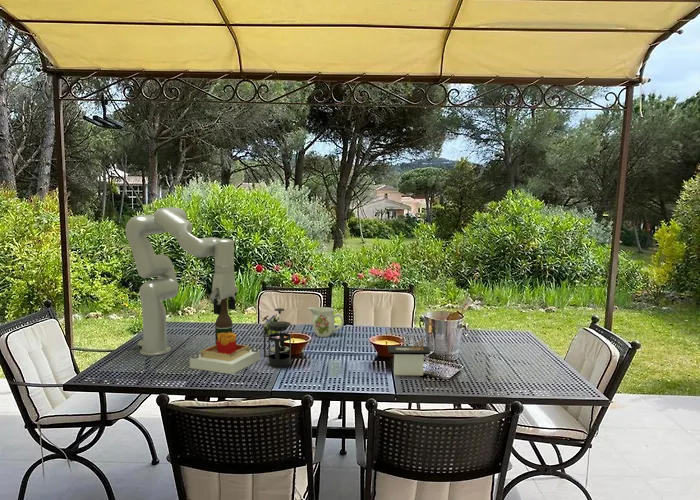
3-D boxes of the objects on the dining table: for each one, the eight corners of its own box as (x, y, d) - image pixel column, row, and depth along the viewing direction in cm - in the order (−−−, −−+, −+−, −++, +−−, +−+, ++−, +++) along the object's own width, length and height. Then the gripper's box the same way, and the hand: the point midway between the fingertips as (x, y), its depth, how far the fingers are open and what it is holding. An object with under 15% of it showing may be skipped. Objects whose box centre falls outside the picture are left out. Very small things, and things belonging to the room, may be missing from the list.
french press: (295, 361, 218) (294, 306, 216) (290, 368, 208) (290, 311, 206) (267, 360, 219) (267, 306, 217) (261, 367, 210) (260, 310, 207)
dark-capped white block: (446, 363, 218) (447, 330, 216) (460, 387, 190) (461, 349, 188) (362, 363, 218) (363, 329, 216) (364, 387, 190) (364, 349, 188)
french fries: (215, 362, 214) (215, 333, 213) (220, 359, 218) (219, 331, 216) (234, 363, 212) (234, 334, 210) (238, 361, 215) (238, 332, 214)
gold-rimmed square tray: (189, 367, 208) (189, 352, 207) (219, 354, 227) (219, 339, 226) (232, 374, 201) (232, 357, 200) (259, 359, 219) (259, 344, 219)
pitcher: (342, 338, 254) (343, 310, 252) (306, 337, 254) (306, 310, 253) (344, 332, 265) (344, 306, 263) (308, 332, 265) (308, 305, 264)
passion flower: (266, 343, 264) (264, 321, 270) (287, 339, 264) (285, 317, 270) (260, 335, 255) (259, 313, 261) (282, 331, 254) (280, 309, 260)
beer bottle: (228, 353, 228) (227, 299, 226) (212, 352, 230) (211, 298, 227) (235, 348, 236) (235, 295, 234) (219, 347, 237) (219, 295, 235)
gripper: (229, 266, 219) (229, 306, 221) (203, 271, 203) (203, 315, 205) (244, 267, 217) (244, 308, 218) (219, 273, 201) (219, 316, 202)
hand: (224, 311), depth 212 cm, fingers open, 9 cm apart
